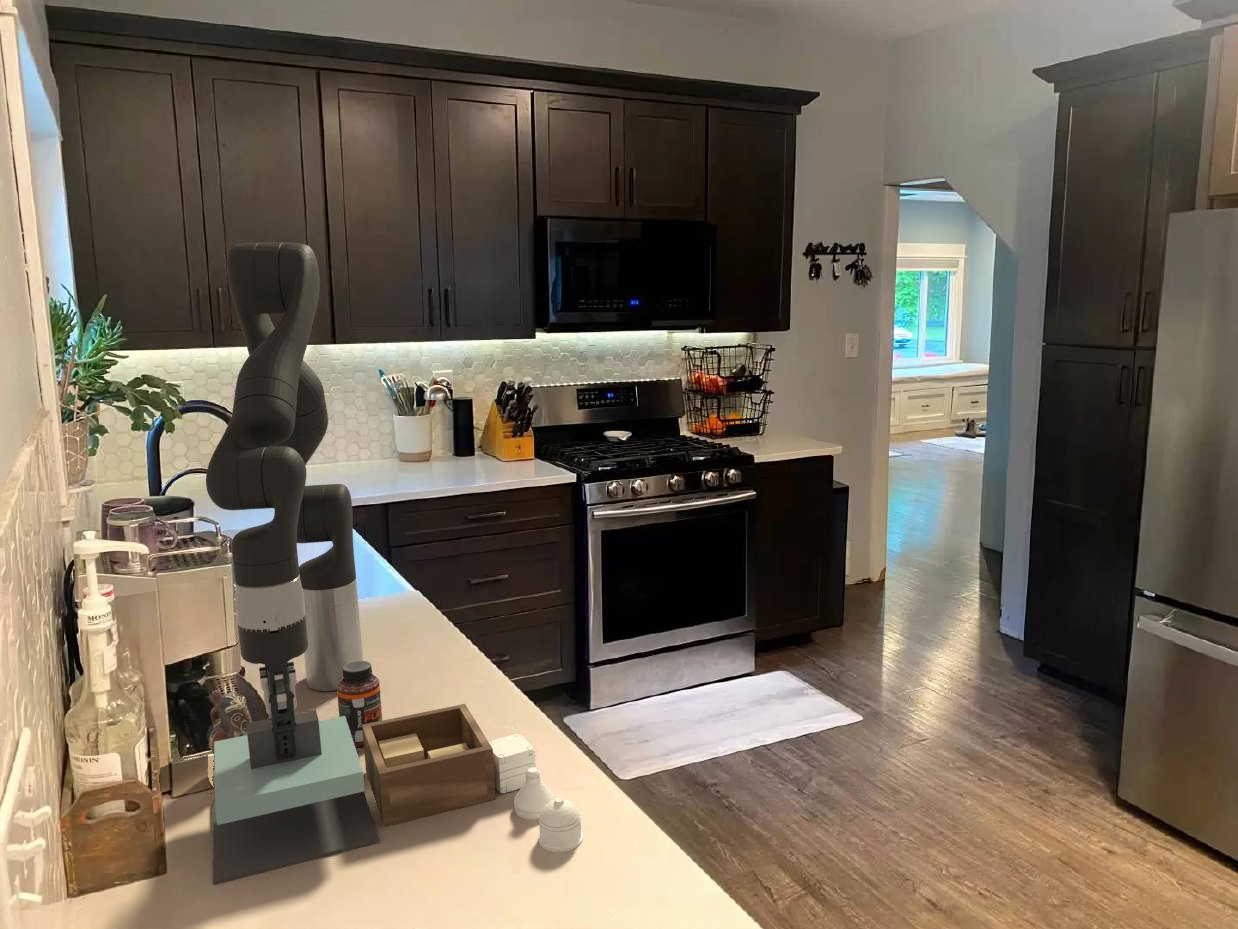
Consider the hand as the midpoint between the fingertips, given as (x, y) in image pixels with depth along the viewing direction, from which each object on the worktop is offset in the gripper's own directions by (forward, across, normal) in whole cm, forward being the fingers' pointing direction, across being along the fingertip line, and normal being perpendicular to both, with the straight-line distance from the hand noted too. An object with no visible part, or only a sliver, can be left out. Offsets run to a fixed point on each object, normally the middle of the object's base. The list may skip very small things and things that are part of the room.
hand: (285, 750), depth 112 cm
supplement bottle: (+10, -18, +11) cm, 23 cm away
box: (+10, -1, +17) cm, 20 cm away
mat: (+10, 0, 0) cm, 10 cm away
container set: (+10, +10, +28) cm, 31 cm away
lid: (+3, 0, 0) cm, 3 cm away
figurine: (+10, -15, -6) cm, 19 cm away
